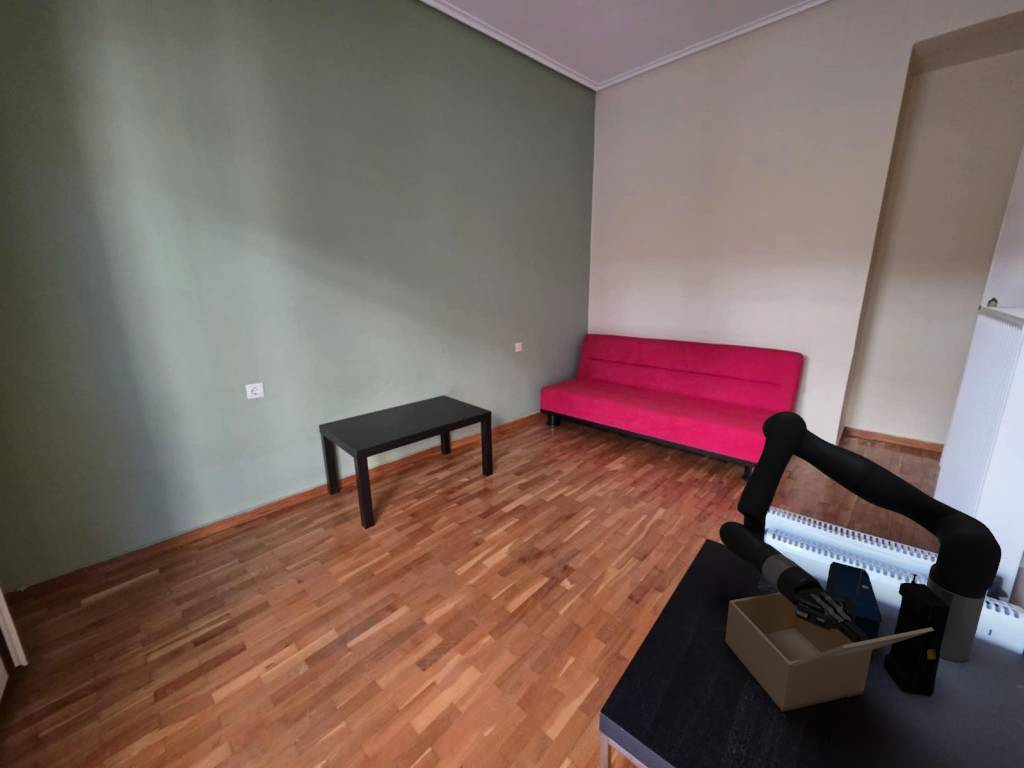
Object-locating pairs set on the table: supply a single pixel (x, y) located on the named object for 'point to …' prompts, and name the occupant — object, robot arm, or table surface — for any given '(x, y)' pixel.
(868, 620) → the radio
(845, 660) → the kraft carton
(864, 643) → the carton flap
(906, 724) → the table surface
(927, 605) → the portable radio
